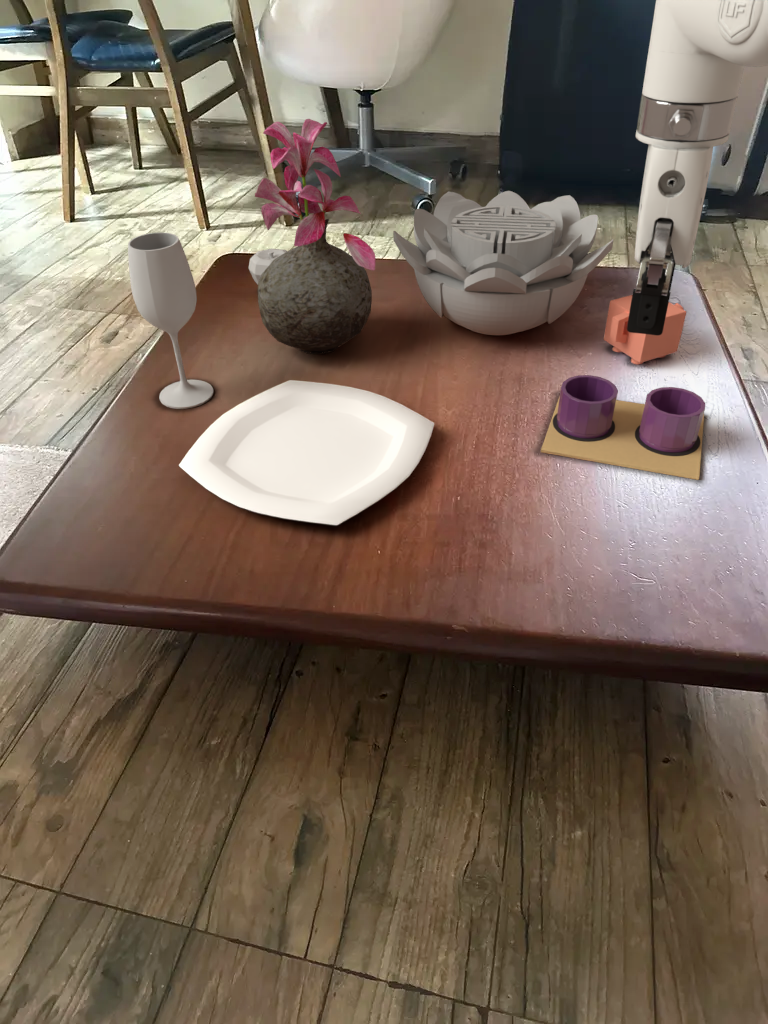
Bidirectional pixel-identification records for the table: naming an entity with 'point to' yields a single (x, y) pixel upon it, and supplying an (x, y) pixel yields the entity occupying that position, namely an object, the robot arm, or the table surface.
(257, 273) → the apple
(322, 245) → the vase
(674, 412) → the plum dish
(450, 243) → the decorative bowl
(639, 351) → the pink cube teapot
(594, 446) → the placemat
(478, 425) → the table surface
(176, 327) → the wineglass
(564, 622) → the table surface
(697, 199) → the robot arm
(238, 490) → the plate
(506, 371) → the table surface
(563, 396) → the plum dish
